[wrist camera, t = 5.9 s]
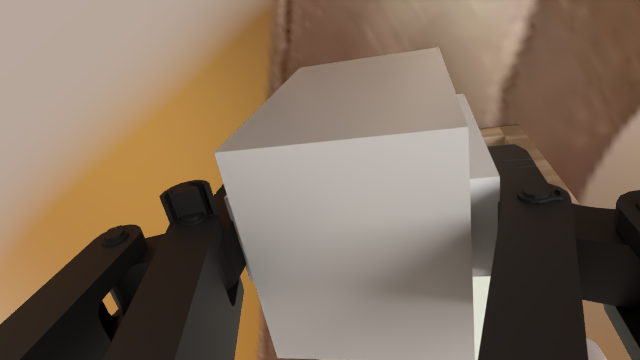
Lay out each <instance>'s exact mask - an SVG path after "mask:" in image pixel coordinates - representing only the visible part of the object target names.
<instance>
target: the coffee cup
mask: <svg viewBox="0 0 640 360" xmlns="http://www.w3.org/2000/svg"><path fill="white" fill-rule="evenodd" d="M586 341H587V351H588V360H607V359H606V357H605V356H604V354H603V352H602V351H601V349H600V348H599V347H598V345H597V344H596V343H595V342H593V341H591V340H590V339H588V338H586Z"/></svg>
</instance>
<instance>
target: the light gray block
mask: <svg viewBox="0 0 640 360" xmlns="http://www.w3.org/2000/svg"><path fill="white" fill-rule="evenodd" d="M214 155H215V158H216V161H217V164H218V167H219V170H220V174H221V177H222V180H223V184H224V187H225V190H226V193H227V196H228V200H229V203H230V206H231V209H232V213H233V216H234V219H235V222H236V225H237V229H238V232H239V235H240V238H241V242H242V245H243V248H244V251H245V254H246V258H247V261H248V264H249V267H250V271H251V274H252V277H253V280H254V283H255V287H256V290H257V293H258V296H259V299H260V303H261V306H262V309H263V312H264V316H265V319H266V322H267V325H268V328H269V332H270V335H271V338H272V341H273V345H274V348H275V351H276V354H277V357H278V358H295V359H333V360H475V345H474V309H473V274H472V239H471V204H470V169H469V134H468V125H467V122H466V119H465V117H464V114H463V111H462V109H461V106H460V103H459V100H458V98H457V95H456V92H455V90H454V87H453V84H452V82H451V79H450V76H449V74H448V71H447V68H446V66H445V63H444V60H443V58H442V55H441V52H440V50H439V47H436V48H430V49H423V50H416V51H409V52H403V53H396V54H389V55H382V56H376V57H369V58H362V59H356V60H349V61H342V62H335V63H329V64H322V65H315V66H308V67H302V68H299V69H298V70H297V71H296V72H295V73H294V74H293V75H292V76H291V77H290V78H289V79H288V80H287V81H286V82H285V83H284V84H283V85H282V86H281V87H280V88H279V89H278V90H277V91H276V92H275V93H274V94H273V95H272V96H271V97H270V98H269V99H268V100H267V101H266V102H265V103H264V104H263V105H262V106H261V107H260V108H259V109H258V110H257V111H256V112H255V113H254V114H253V115H252V116H251V117H250V118H249V119H248V120H247V121H246V122H245V123H244V124H243V125H242V126H241V127H240V128H239V129H238V130H237V131H236V132H235V133H234V134H233V135H232V136H231V137H230V138H229V139H227V140H226V141H225V142H224V143H223V144H222V145H221V146H220V147H219V148H218V149H217V151H216V152H215V153H214Z"/></svg>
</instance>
